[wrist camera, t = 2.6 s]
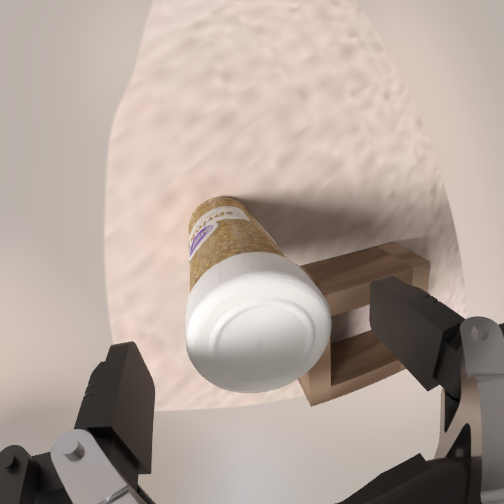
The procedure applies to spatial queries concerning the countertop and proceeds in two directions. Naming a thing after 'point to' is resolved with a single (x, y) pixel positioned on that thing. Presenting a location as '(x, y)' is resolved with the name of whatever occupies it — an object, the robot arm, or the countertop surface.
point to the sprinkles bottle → (249, 304)
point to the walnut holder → (351, 297)
